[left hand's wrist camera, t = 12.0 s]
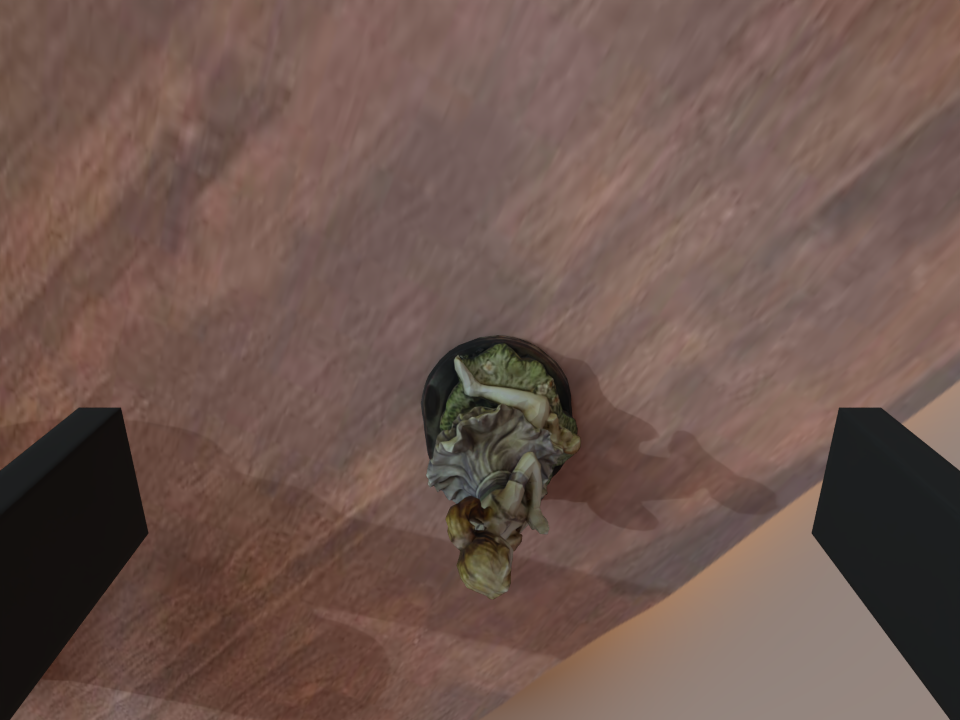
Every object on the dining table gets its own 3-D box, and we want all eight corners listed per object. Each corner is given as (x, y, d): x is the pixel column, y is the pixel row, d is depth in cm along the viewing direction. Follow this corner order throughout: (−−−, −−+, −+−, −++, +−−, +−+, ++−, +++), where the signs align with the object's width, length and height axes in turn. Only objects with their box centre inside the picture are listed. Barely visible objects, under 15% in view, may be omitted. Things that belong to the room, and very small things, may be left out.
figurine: (539, 514, 48) (563, 686, 34) (394, 468, 47) (358, 628, 33) (608, 369, 44) (667, 499, 30) (450, 315, 43) (436, 424, 29)
